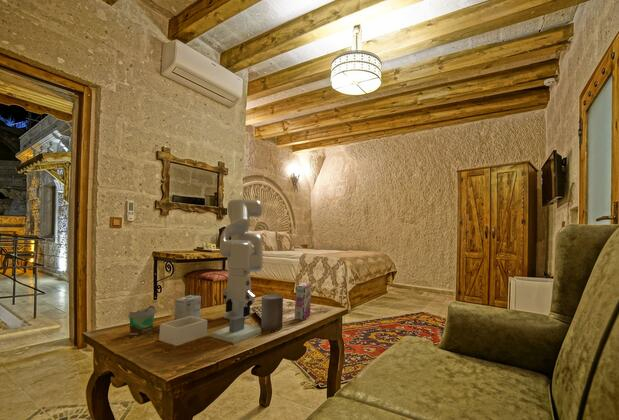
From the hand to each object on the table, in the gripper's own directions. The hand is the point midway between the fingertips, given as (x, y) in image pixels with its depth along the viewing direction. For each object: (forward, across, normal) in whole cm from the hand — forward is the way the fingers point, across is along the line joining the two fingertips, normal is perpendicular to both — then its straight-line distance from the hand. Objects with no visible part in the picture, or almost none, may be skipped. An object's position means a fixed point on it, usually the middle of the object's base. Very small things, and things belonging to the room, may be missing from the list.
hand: (237, 313), depth 130 cm
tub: (+9, +13, +16) cm, 22 cm away
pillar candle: (+10, -5, -17) cm, 20 cm away
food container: (+9, +31, +20) cm, 38 cm away
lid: (+9, -1, +1) cm, 9 cm away
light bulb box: (+10, +33, -2) cm, 35 cm away
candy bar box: (+10, -8, -39) cm, 41 cm away
